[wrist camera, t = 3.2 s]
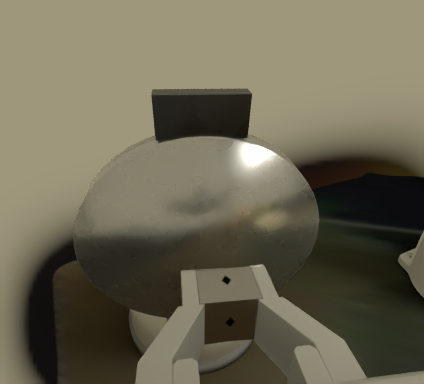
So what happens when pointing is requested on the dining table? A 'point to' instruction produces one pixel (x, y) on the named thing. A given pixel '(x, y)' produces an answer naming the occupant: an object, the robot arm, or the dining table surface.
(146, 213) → the lid
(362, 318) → the dining table surface
